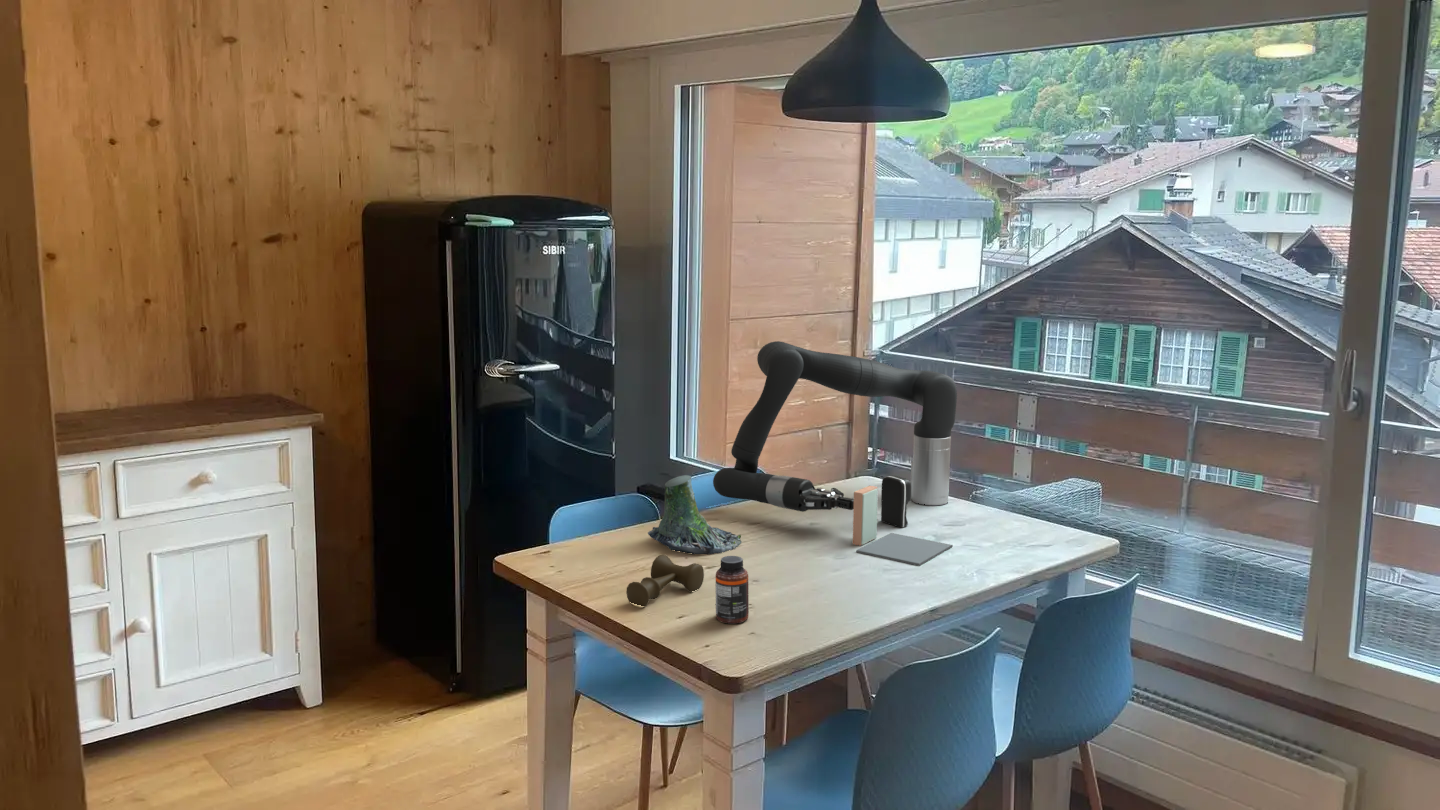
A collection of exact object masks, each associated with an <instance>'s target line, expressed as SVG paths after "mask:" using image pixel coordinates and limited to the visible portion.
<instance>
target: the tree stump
mask: <svg viewBox="0 0 1440 810" xmlns="http://www.w3.org/2000/svg"><path fill="white" fill-rule="evenodd" d="M647 535H648V536H649V537H650V538H651V539H654V540H655V541H657V542H658V543H660V544H662V545H664V546H665V547H667V548H668V549H669V550H670V551H672V550H675V551H674V552H677V551H680V552H679V553H683V552H685V553H684V554H688V553H692V554H691V555H695V554H707V555H715V554H714V553H717V554H723V553H725V551H726V552H730V551H732V550H736V547H737V548H738V547H739V546H740V545H741V544H742V540H741V536H742V535H741V534H738V535H737V534H736V533H732V532H731V531H726V530H723V529H722V528H719V527H714V526H711V525H710V524H709V523H708V522H707V519H705V517H704V516H703V515H702V514H701V513H700V512H699V508H698V505H697V501H696V498H695V492H694V489H693V483H692V476H691V475H688V474H684V475H679V476H676V477H672V478H671V479H669V480H668V481H666V482H665V484H664V512H663V517H662V518H661V520H660V522H659V524H658V527H656V526H652V529H651V530H649V531H648V532H647ZM729 550H730V551H729ZM722 552H723V553H722Z"/></svg>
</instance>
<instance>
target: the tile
mask: <svg viewBox="0 0 1440 810" xmlns="http://www.w3.org/2000/svg"><path fill="white" fill-rule="evenodd" d="M878 494H879V489H878V486H876V485H875V486H873V485H868V486H865V487H862V488H860V489H857V490H856V491H854V492H853V499H854V509H853V515H852V516H853V519H852V545H854V544H855V545H854V546H858V545H859V547H862V546H863V544H864V545H867V543H868V544H869V543H870V542H873V541H875V540H877V535H878V533H877V529H878V503H879V502H878V501H879V500H878V498H879V497H878V496H879V495H878ZM869 541H870V542H869ZM861 545H862V546H861Z"/></svg>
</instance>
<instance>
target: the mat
mask: <svg viewBox="0 0 1440 810" xmlns="http://www.w3.org/2000/svg"><path fill="white" fill-rule="evenodd" d="M952 548H953V544H950V543H946V542H945V543H944V542H938V541H935V540H930V539H924V538H920V537H915V536H908V535H904V534H900V533H894V532H889V533H888V534H886V535H884V536H882V537H880V538H878V539H875V540H873V541H871V542H869V543H868V544H865V545H864V546H861V547H860V548H857V549H856V553H857V554H864V555H868V556H873V557H876V556H877V557H876V558H882V559H886V560H890V561H895V562H901V563H904V562H905V564H909V565H913V564H915V566H918V565H919V567H920V566H922V565H924V564H925V563H927V562H929V561H931V560H932V559H934V558H936V557H938V556H940V555H941V554H943V553H944V551H945V552H946V551H948V550H950V549H952ZM937 555H938V556H937ZM935 556H936V557H935ZM930 559H931V560H930ZM928 560H929V561H928ZM923 563H924V564H923ZM921 564H922V565H921Z"/></svg>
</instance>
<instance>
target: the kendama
mask: <svg viewBox="0 0 1440 810" xmlns="http://www.w3.org/2000/svg"><path fill="white" fill-rule="evenodd" d="M704 572H705V571H704V567H703V566H702V564H699V563H696V562H695V563H692V564H689V565H687V566H686V565H679V564H676V563H674V561H672V560H671V558H670V557H669V556H668V555H667V554H664V553H661V554H659V555H658V556H656V557H655V558H654V560H653V561H652V564H651V567H650V576H649V577H648V576H646V577H644V578H642V579H641V581H640V582H639V581H631V582H630V583H629V584H628V585H627V587H626V598H627V601H628V603H630V602H631V603H634V604H637V605H641V606H646V607H647V606H648V604H649V602H650V600H656V599H658V598H659V597H660V595H661V591H662V590H663V589H664V588H665V587H666V586H668V585H669V584H670V583H672V582H674V583H678V584H680V585H682V586H683V587H684V589H686V590H687V591H688V592H690V593H693V592H692V591H695V590H697V589H699V588H701V587H702V585H703V582H704V578H705V573H704ZM699 590H700V589H699ZM697 591H698V590H697ZM695 592H696V591H695ZM631 603H630V604H631Z"/></svg>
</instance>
